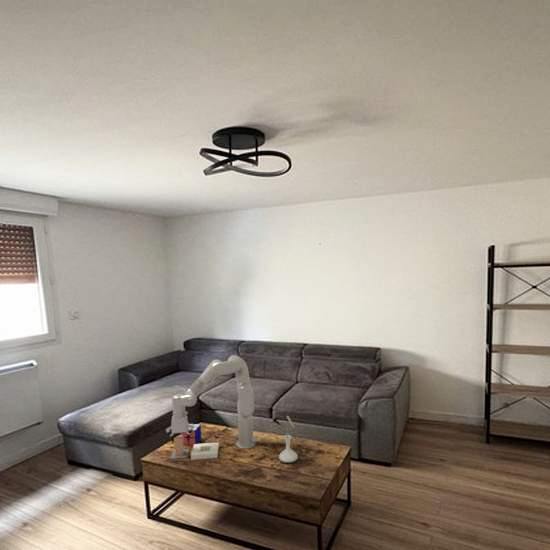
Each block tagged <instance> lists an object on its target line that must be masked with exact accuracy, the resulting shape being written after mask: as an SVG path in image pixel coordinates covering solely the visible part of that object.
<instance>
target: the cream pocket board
mask: <svg viewBox="0 0 550 550" xmlns="http://www.w3.org/2000/svg"><path fill="white" fill-rule="evenodd" d="M219 445H220V443H219V441H218V442H206V443H204V442H203V443H197V444H194V445H192V446H193V447H192V450H191V453H190V460H191V461H195V460H208V459H217V458H218V455H219V449H220V446H219Z"/></svg>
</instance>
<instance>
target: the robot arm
mask: <svg viewBox="0 0 550 550" xmlns="http://www.w3.org/2000/svg"><path fill="white" fill-rule="evenodd" d="M230 374H235V378H236V391H237V394H238V399H237V402H236V403H237V404H236V409H237V421H238V422H237V423H238V424H237V426H238V441H236V447H237V448H239V449H241V450H248V449H252V448H254V447H256V446H255V445H256V443H259V442H261V439H260V438H259V437H255V436H254V433H253V432H254V430H253V429H254V428H253V413H254V412H255V399H254V398H255V397H254V390H253V388H252V386H251V383H250V382H251V381H250V380H251V379H250V373H249V366H248V365H247V362H246V361H245V360H244V359H243V358H242V357H240V356H238V355H235V354H232V355H230V356H229V357H228V358H227V360H226V361H225V360H224V361H222V360H220V359H213V360H212V361H211V362H210V363H209V364H208V365H207V367H206V368H205V369H204V371H203V372H202V373H201V375H199V377H198V378H196V380H194V382H193V383H191V385H190V387H188V389H187V390H186V391H185V394H183V393H177V394H176V393H175V394H173V395H172V397H171V401H172V402H171V403H172V416H171V425H170V426H169V427H167V428H165V431H166V433H167V435H169V437H170V441H171V443H172V444H173V443H175V436H174V434H182V433H183V432H186V433H187V441H189V439H190V433H191V432H192V430H193V428H194V426H192V425H189V424H190V423H189V420H188V415H187V414H188V411H186V407H193V406H195V405H196V403H197V400H198V399H197V396H199V394H200V393H201V392H202V391H203V390H204V389H205V388H206V387H209V386H211V385H212V383H213V382H214V381H215V379H216V378H217V377H220V376H226V375H230ZM189 427H190V428H191V430H190V431H189V430H188V428H189ZM170 430H171V431H170Z"/></svg>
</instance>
